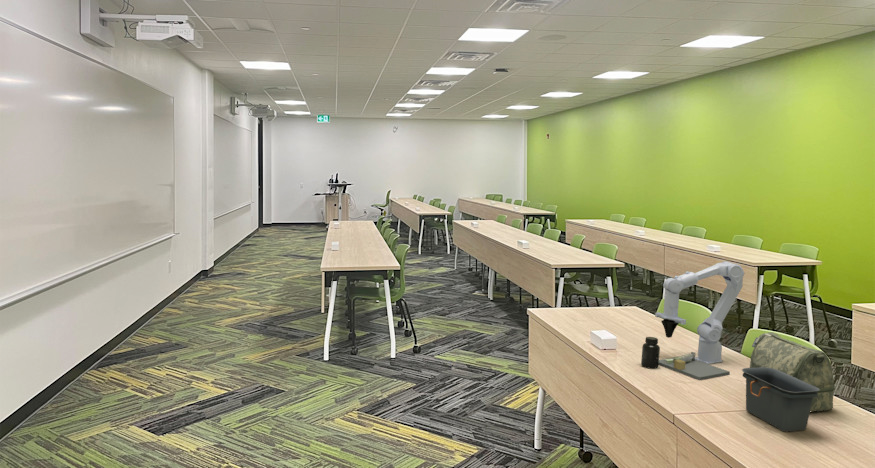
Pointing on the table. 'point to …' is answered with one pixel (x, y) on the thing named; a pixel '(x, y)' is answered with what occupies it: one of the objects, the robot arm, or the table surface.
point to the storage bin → (778, 398)
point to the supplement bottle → (650, 353)
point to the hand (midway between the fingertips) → (668, 337)
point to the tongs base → (695, 368)
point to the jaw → (684, 357)
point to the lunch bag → (796, 365)
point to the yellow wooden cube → (679, 364)
